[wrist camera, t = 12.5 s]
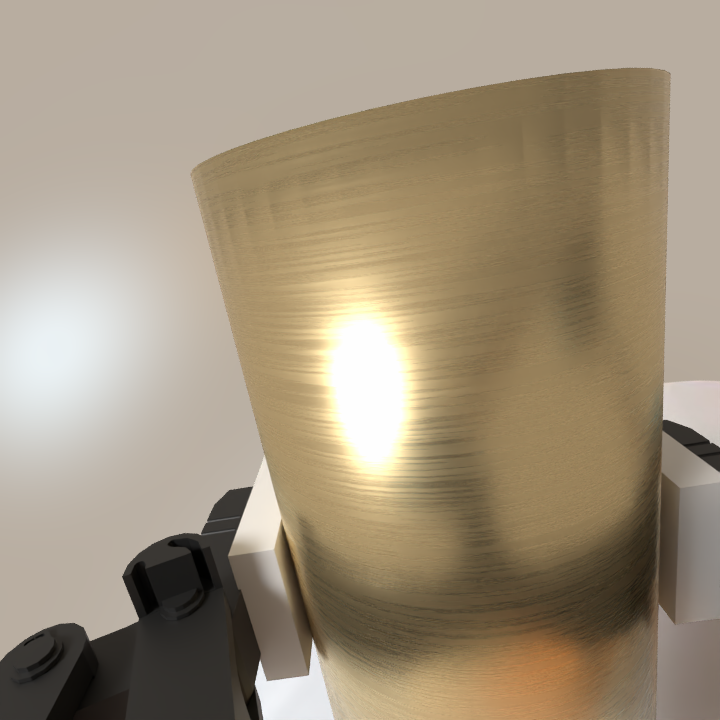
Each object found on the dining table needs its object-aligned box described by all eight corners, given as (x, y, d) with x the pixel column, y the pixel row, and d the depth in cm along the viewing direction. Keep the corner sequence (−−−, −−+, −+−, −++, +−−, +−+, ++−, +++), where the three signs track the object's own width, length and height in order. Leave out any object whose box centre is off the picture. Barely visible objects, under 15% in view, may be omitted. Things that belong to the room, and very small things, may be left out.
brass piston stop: (408, 685, 16) (310, 178, 11) (626, 731, 14) (624, 111, 9) (336, 966, 10) (72, 186, 5) (687, 1126, 8) (778, 3, 3)
